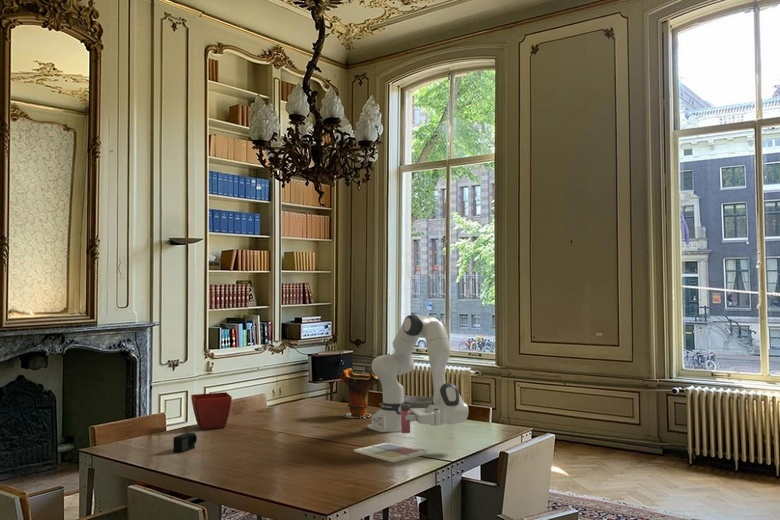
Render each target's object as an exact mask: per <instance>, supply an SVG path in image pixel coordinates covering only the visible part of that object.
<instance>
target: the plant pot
mask: <svg viewBox="0 0 780 520" xmlns="http://www.w3.org/2000/svg"><path fill="white" fill-rule="evenodd" d="M190 397H191V403H192V409H193V415H194V417H195V420H196V424H197V427H198V426H199V427H198V428H199V430H200V429H206V430H212V429H211V428H216V429H223V428H222V427H225V428H226V426H227V422H228V420H229V419H228V418H229V415H230V412H231V411H230V410H231V408H232V407H231V406H232V399H233V397H232V396H231V395H230V394H229V393H228V392H225V391H224V392H209V393H197V394H191V395H190Z"/></svg>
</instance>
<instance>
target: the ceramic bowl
mask: <svg viewBox="0 0 780 520" xmlns="http://www.w3.org/2000/svg"><path fill="white" fill-rule="evenodd" d="M432 397H433V396H425V395H412V396H410V395H409V396H408V395H407V396H404V402H405V404H409V405H410V408H424V409H425V408H428V406H429V405H432Z"/></svg>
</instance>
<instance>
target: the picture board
mask: <svg viewBox="0 0 780 520" xmlns="http://www.w3.org/2000/svg"><path fill="white" fill-rule="evenodd" d="M353 452H354V453H357V454H360V455H365V456H369V457H372V458H376V459H380V460H383V461H387V462H391V463H396V462H400V461H404V460H408V459H413V458H417V457H421V456H424V455H427V453H428V452H427V451H425V450H424V451H423V450H421V449H417V448H412V447H407V446H402V445H398V444H395V443H390V442H384V443H383V442H382V443H378V444H373V445H370V446H365V447H359V448H354V449H353Z"/></svg>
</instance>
